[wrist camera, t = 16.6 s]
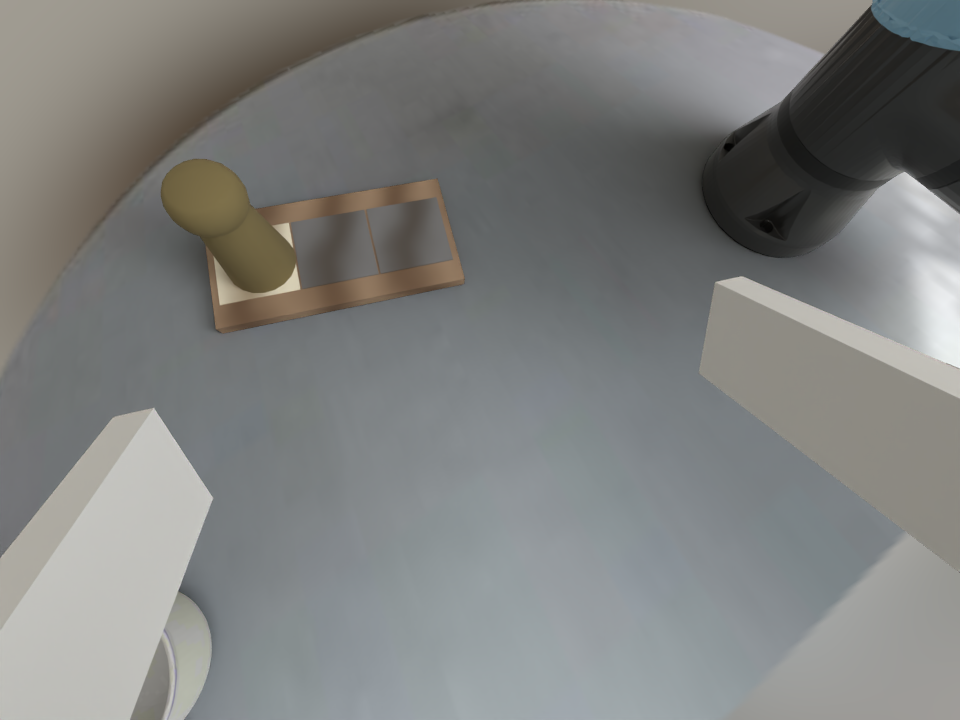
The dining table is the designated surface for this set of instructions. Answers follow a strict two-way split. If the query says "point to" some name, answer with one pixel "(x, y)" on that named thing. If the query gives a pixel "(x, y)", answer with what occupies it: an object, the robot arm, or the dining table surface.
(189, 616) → the teacup
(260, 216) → the cork
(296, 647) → the dining table surface
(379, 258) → the brown frame
